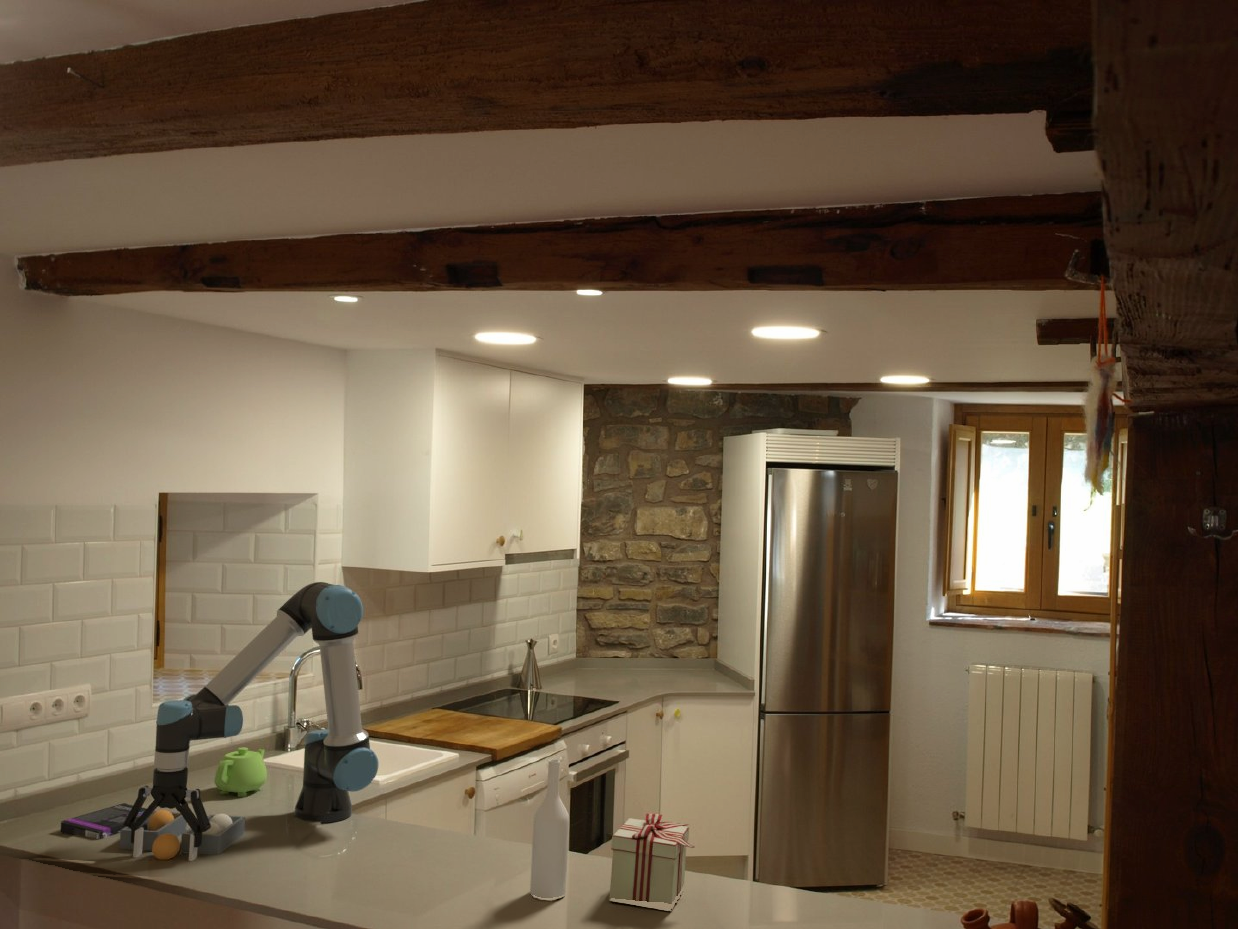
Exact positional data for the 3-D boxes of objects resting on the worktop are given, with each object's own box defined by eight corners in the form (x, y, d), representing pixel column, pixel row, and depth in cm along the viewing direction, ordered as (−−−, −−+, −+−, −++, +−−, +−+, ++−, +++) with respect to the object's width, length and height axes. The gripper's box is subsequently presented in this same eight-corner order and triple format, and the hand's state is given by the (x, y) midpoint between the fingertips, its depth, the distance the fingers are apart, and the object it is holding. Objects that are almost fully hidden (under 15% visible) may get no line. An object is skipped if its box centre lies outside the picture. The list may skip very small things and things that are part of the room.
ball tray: (243, 836, 265) (245, 816, 265) (205, 867, 243) (206, 845, 243) (145, 830, 266) (146, 810, 267) (98, 860, 244) (99, 838, 244)
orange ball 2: (183, 856, 249) (185, 830, 250) (171, 865, 243) (173, 839, 244) (158, 854, 250) (160, 829, 250) (146, 863, 244) (148, 837, 244)
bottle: (536, 903, 231) (543, 766, 232) (525, 890, 238) (531, 757, 239) (570, 899, 234) (577, 764, 235) (558, 886, 241) (564, 755, 242)
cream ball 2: (235, 835, 264) (237, 811, 264) (226, 843, 258) (227, 818, 258) (212, 834, 264) (214, 810, 265) (202, 841, 258) (203, 817, 259)
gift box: (690, 915, 228) (693, 836, 229) (607, 906, 231) (611, 827, 232) (698, 888, 245) (701, 813, 245) (620, 879, 248) (624, 806, 249)
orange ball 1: (177, 831, 265) (179, 808, 265) (166, 839, 259) (168, 815, 259) (154, 830, 265) (156, 806, 265) (143, 838, 259) (144, 813, 259)
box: (98, 846, 256) (162, 823, 274) (99, 832, 256) (163, 810, 274) (59, 835, 262) (124, 814, 280) (60, 821, 262) (125, 800, 280)
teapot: (243, 780, 316) (245, 738, 316) (281, 786, 312) (283, 743, 312) (197, 797, 297) (200, 752, 297) (237, 803, 293) (240, 758, 293)
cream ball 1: (224, 844, 257) (225, 819, 257) (213, 852, 251) (215, 827, 251) (200, 843, 257) (202, 818, 258) (189, 851, 251) (191, 825, 252)
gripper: (228, 766, 250) (223, 857, 250) (128, 760, 251) (122, 850, 251) (215, 774, 243) (209, 867, 242) (111, 768, 244) (105, 861, 243)
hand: (165, 859), depth 246 cm, fingers open, 13 cm apart
